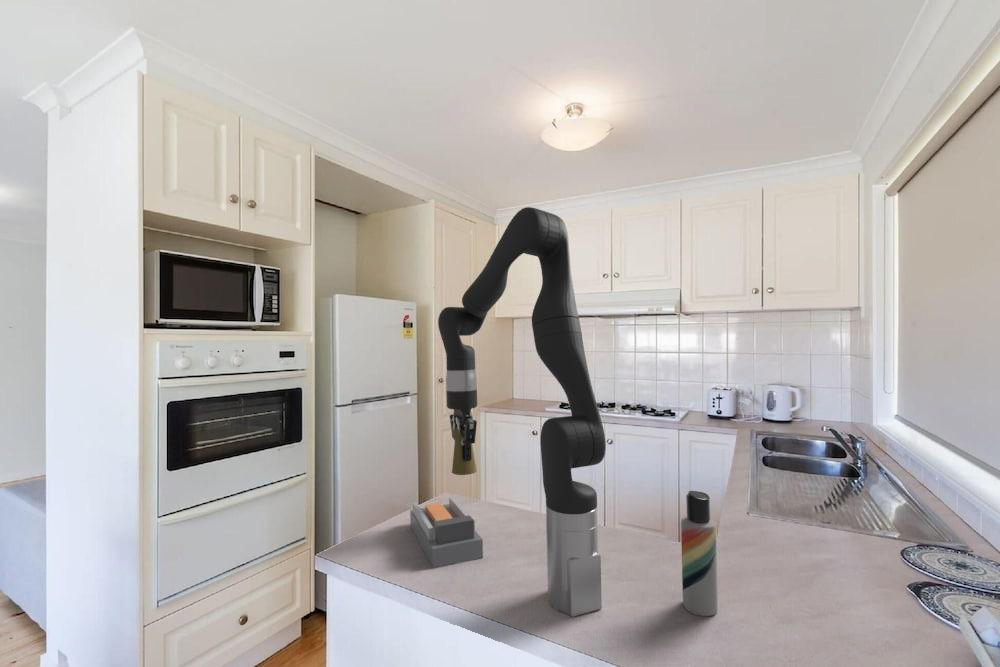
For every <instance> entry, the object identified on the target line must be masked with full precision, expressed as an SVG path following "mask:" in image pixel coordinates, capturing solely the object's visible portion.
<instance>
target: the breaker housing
mask: <svg viewBox="0 0 1000 667" xmlns="http://www.w3.org/2000/svg"><path fill="white" fill-rule="evenodd" d="M442 505H443V506H444V507H445V509H446V510H447V511H448V512H449V514H450V515H451V516H452V518H451V519H445V520H439V521H435V523H434V522H433V520H432V519H431V517H430V516H429V514H428V513H427V511H426V507H422V508H421V507H420V505H419V504H418V502H417V501H415V502H412V509H410V515H409V516H410V527H411V529H412V531H413V532H414V534H415V536H416V539H417V540H418V542H419V544H420V546H421V547H422V549H423V552H424V554H425V555H426V557H427V559H428V561H429V563H430V564H431V566H432V568H433V569H436V568H442V567H447V566H450V565H456V564H460V563H464V562H469V561H474V560H478V559H480V560H481V559H483V558H484V548H483V547H484V546H483V545H484V544H483V538H482V537H481V536H480V535H479V534H478V532H477V531H476V529H475V528H476V525H475V523H476V522H475V521H476V520H474V518H473V517H472V516H471V515H470V514H469V513H468V511H467V510H466V509H464V508H463V506H462V505H461V504H460V503H459V502H458V500H457V499H455V498H454V496H449V497H448V503H447V504H442Z"/></svg>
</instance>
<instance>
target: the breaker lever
mask: <svg viewBox="0 0 1000 667" xmlns="http://www.w3.org/2000/svg"><path fill="white" fill-rule="evenodd" d="M443 505H444V504H442V503H441V502H438V503H437V502H436V503H429V504H426V505H425V506H424V508H426V511H427V513H428V514H429V516H430V517H431V519H432V520H433V522H434V523H435V521H439V520H445V519H451V518H452V516H451V515H450V514H449V512H448V511H447V510H446V509H445V507H444V506H443Z"/></svg>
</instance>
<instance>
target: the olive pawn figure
mask: <svg viewBox="0 0 1000 667" xmlns="http://www.w3.org/2000/svg"><path fill="white" fill-rule="evenodd" d="M464 431H465V430H462V432H464ZM452 435H453V437H452V438H453V440H454V447H453V448H454V449H453V455H452V456H453V458H452V466H451V467H452V468H451V474H453V475H456V476H466V475H467V476H468V475H472V474H473V475H474V474H475V473H477V466H476V459H475V453H474V446H473V444H472V445H471V458H472V459H471V460H470V461H463V460H462V444H461V436H459V433H458V427H456V428H454V429H453V432H452V431H451V436H452ZM467 439H469V436H468V438H467Z"/></svg>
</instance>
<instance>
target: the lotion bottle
mask: <svg viewBox="0 0 1000 667" xmlns="http://www.w3.org/2000/svg"><path fill="white" fill-rule="evenodd" d="M685 498H686V499H685V500H686V515H685V516H683V517H681V521H680V522H681V523H680V529H681V530H680V532H681V534H680V536H681V537H680V538H681V576H682V577H681V579H682V581H681V582H682V587H681V588H682V604H683V607H684V608H685V610H687V611H688V612H690V613H691V614H695V615H697V616H701V617H710V616H714V615H716V614H717V613H718V610H719V596H718V595H719V594H718V593H719V591H718V590H719V589H718V588H719V586H718V585H719V584H718V545H717V542H718V540H717V524H716V522H715V521H714V519H712V518H711V502H710V501H711V499H710V496H709V494H707V493H706V492H702V491H697V490H689V491H688V493H687V494H686V497H685Z"/></svg>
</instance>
